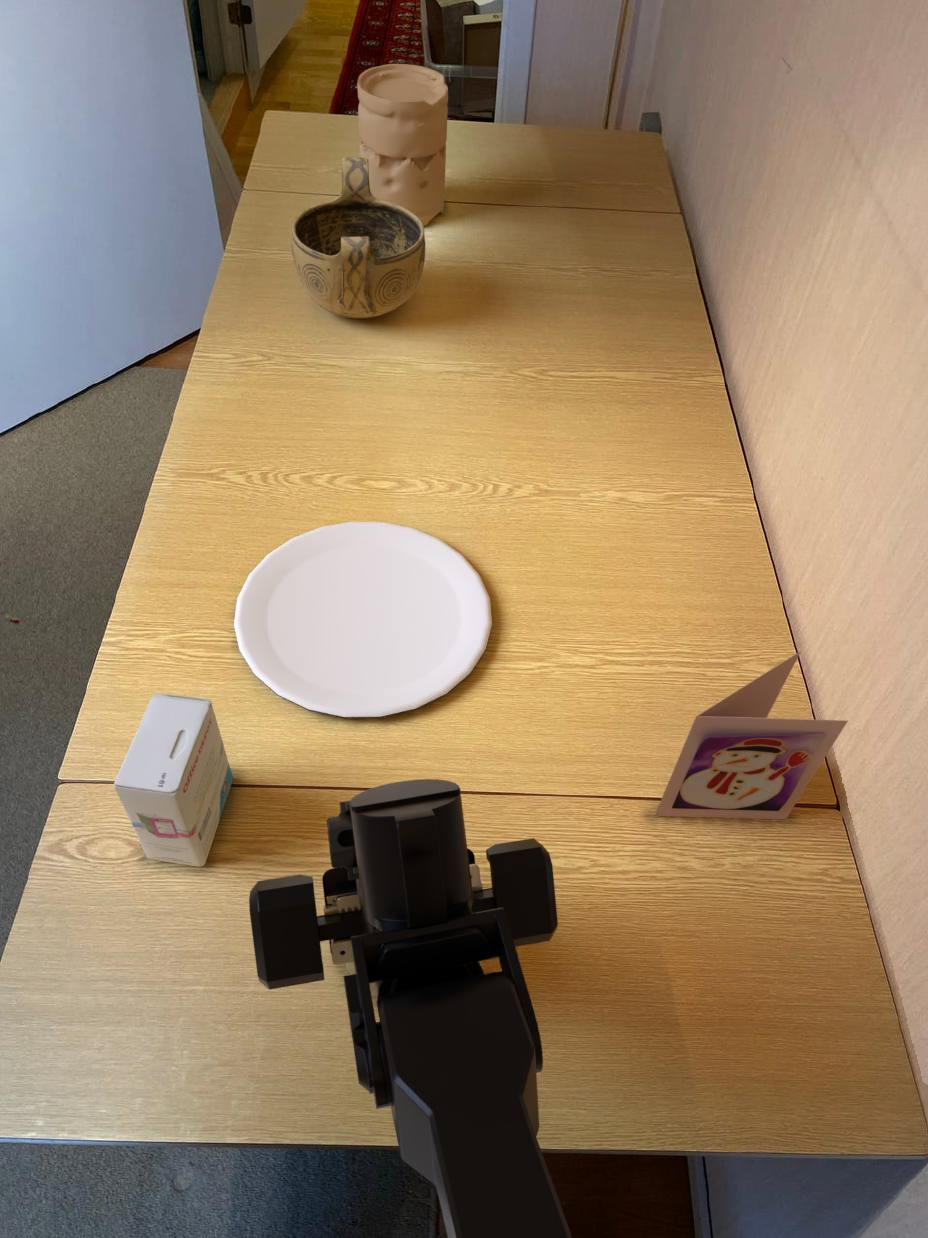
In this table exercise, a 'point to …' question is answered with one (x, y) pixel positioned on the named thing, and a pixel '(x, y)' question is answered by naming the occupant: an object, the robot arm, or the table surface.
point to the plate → (363, 619)
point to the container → (405, 136)
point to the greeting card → (748, 756)
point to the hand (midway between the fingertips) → (392, 868)
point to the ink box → (175, 779)
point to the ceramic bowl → (358, 249)
